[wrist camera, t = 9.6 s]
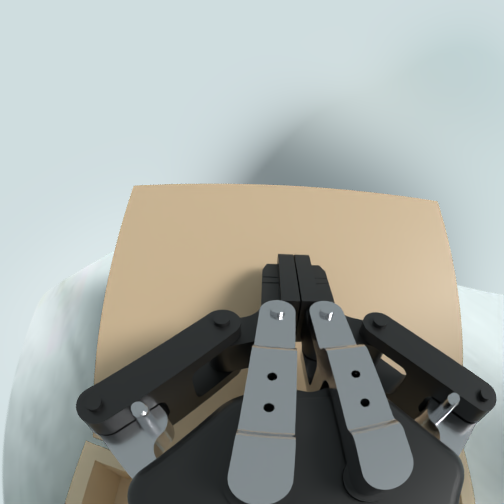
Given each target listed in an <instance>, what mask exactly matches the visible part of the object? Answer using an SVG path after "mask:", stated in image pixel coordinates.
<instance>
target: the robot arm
mask: <svg viewBox="0 0 504 504" xmlns="http://www.w3.org/2000/svg"><path fill="white" fill-rule="evenodd" d="M295 342H301V343H302V349H301V353H300V358H301V363H302V368H303V374H304V379H305V384H306V390H307V392H306V391H301V390H297V348H295ZM383 354H384V355H385V356H387V357H388V358H390V359H391V360H392V361H394V362H395V363H397V364H398V365H399V366H401V367H402V368H403V369H404V370H405V372H406V375H404V374H402V373H400V372H399V371H398V370H396V369H395V368H393V367H392V366H391V365H389V364H388V363H387V362H385V361H384V360H382V359H381V357H382V355H383ZM245 368H248V374H247V380H246V386H245V391H244V395H242V396H238V397H236V398H233V399H231V400H229V401H227V402H226V403H224V404H223V405H221V406H220V407H219V408H218V409H216V410H215V411H214V412H213V413H212V414H211V415H210V416H208V417H207V418H206V419H205V420H204V421H203V422H201V423H200V424H199V425H198V426H197V427H196V428H194V429H193V430H192V431H191V432H190V433H188V434H187V435H186V436H185V437H183V438H182V439H181V440H180V441H178V442H177V443H176V444H175V445H173V446H172V447H171V448H170V449H168V450H167V451H166V452H164V450H165V449H166V447H167V446H168V445H169V444H170V443H171V442H172V441H173V439H174V435H175V431H174V427H173V425H175V424H176V423H177V422H179V421H180V420H181V419H183V418H184V417H186V416H187V415H188V414H189V413H191V412H192V411H193V410H195V409H196V408H197V407H199V406H200V405H201V404H202V403H204V402H205V401H206V400H208V399H209V398H210V397H211V396H213V395H214V394H215V393H216V392H218V391H219V390H220V389H221V388H222V387H224V386H225V385H226V384H227V383H229V382H230V381H231V380H232V379H233V378H234V377H236V376H237V375H238V374H239V373H240V371H241V369H245ZM495 403H496V394H495V391H494V389H493V388H492V387H491V386H490V385H489V384H488V383H486V382H485V381H484V380H482V379H481V378H479V377H478V376H476V375H475V374H474V373H472V372H471V371H469V370H468V369H466V368H465V367H463V366H462V365H460V364H459V363H458V362H456V361H455V360H453V359H452V358H450V357H449V356H447V355H446V354H444V353H443V352H441V351H440V350H438V349H437V348H435V347H434V346H432V345H431V344H429V343H428V342H426V341H425V340H423V339H422V338H420V337H419V336H417V335H416V334H414V333H413V332H411V331H410V330H408V329H407V328H405V327H404V326H402V325H401V324H399V323H398V322H396V321H395V320H393V319H392V318H390V317H389V316H387V315H385V314H383V313H378V312H372V313H369V314H367V315H366V316H365V317H364V319H363V320H360V319H356V318H351V317H348V316H346V315H344V312H343V310H342V309H341V307H340V306H338V305H337V304H335V302H334V299H333V295H332V292H331V289H330V285H329V282H328V279H327V276H326V272H325V271H324V270H323V269H322V268H321V267H320V266H319V265H311V261H310V257H309V255H299V254H294V255H293V254H278V258H277V264H266V265H265V267H264V268H263V269H262V291H261V307H260V309H259V310H258V311H257V312H256V313H254V314H252V315H250V316H246V317H241V318H240V317H239V316H238V315H237V314H236V313H234V312H232V311H229V310H216V311H213V312H211V313H209V314H207V315H206V316H204V317H203V318H201V319H200V320H198V321H197V322H195V323H194V324H192V325H190V326H189V327H187V328H186V329H184V330H183V331H181V332H180V333H178V334H176V335H175V336H173V337H172V338H170V339H169V340H167V341H165V342H164V343H162V344H161V345H159V346H157V347H156V348H154V349H153V350H151V351H149V352H148V353H146V354H145V355H143V356H141V357H140V358H138V359H137V360H135V361H133V362H132V363H130V364H128V365H127V366H125V367H123V368H122V369H120V370H119V371H117V372H115V373H114V374H112V375H110V376H109V377H107V378H105V379H104V380H102V381H100V382H99V383H97V384H95V385H94V386H92V387H90V388H88V389H87V390H85V391H84V392H83V393H82V394H81V395H80V396H79V398H78V400H77V403H76V409H77V413H78V415H79V416H80V418H81V419H82V420H83V421H84V422H85V423H86V424H87V425H88V426H89V427H90V429H91V430H92V431H93V432H94V433H95V434H96V435H97V436H98V437H99V438H101V439H102V440H103V441H104V442H105V444H106V445H107V447H108V448H109V449H110V451H111V452H112V454H113V455H114V456H115V458H116V459H117V460H118V462H119V463H120V464H121V465H122V467H123V468H124V469H125V471H126V472H127V473H128V474H129V476H130V477H131V478H132V481H131V483H130V485H129V488H128V495H127V499H128V504H459V500H460V494H461V490H462V486H463V482H464V467H463V463H462V461H461V459H460V457H459V455H460V453H461V452H462V450H463V448H464V446H465V444H466V442H467V440H468V438H469V436H470V434H471V432H472V430H473V428H474V426H475V424H476V423H477V422H479V421H480V420H481V419H482V418H483V417H484V416H485V415H486V414H487V413H488V412H489V411H490V410H491V409H492V408H493V407H494V406H495ZM163 452H164V453H163Z"/></svg>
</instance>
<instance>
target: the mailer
mask: <svg viewBox="0 0 504 504" xmlns="http://www.w3.org/2000/svg"><path fill="white" fill-rule="evenodd" d="M459 457H460V459H461V461H462V463H463V467H464V482H463V486H462V490H461V494H460V500H459V504H475V498H474V492H473V487H472V482H471V477H470V472H469V468H468V464H467V460H466V456H465V452H464V449H463V450H462V452H461V453H460V455H459ZM131 481H132V478H131V477H130V476H129V474H128V473H127V472H126V471H125V469H124V468H123V467H122V465H121V464H120V463H119V462H118V460H117V459H116V458H115V456H114V455H113V454H112V452H111V451H110V450H109V449H106V448H103V447H101V446H98V445H96V444H93V443H91V442H88V441H86V442H85V445H84V447H83V450H82V453H81V455H80V458H79V461H78V464H77V467H76V470H75V473H74V476H73V479H72V482H71V485H70V488H69V491H68V494H67V498H66V501H65V504H128V499H127V495H128V488H129V485H130V483H131Z"/></svg>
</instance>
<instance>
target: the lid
mask: <svg viewBox="0 0 504 504" xmlns="http://www.w3.org/2000/svg"><path fill="white" fill-rule="evenodd" d="M278 254H293V255H294V254H299V255H309V257H310V261H311V265H319V266H320V267H321V268H322V269H323V270H324V271H325V272H326V276H327V279H328V282H329V285H330V289H331V292H332V295H333V299H334V302H335V304H337V305H338V306H340V307H341V309H342V310H343V312H344V315H346V316H348V317H351V318H356V319H360V320H363V319H364V317H365V316H366V315H367V314H369V313H372V312H378V313H383V314H385V315H387V316H389V317H390V318H392V319H393V320H395V321H396V322H398V323H399V324H401V325H402V326H404V327H405V328H407V329H408V330H410V331H411V332H413V333H414V334H416V335H417V336H419V337H420V338H422V339H423V340H425V341H426V342H428V343H429V344H431V345H432V346H434V347H435V348H437V349H438V350H440V351H441V352H443V353H444V354H446V355H447V356H449V357H450V358H452V359H453V360H455V361H456V362H458V363H459V364H460V365H462V366H463V345H462V327H461V315H460V305H459V297H458V289H457V283H456V277H455V271H454V265H453V260H452V255H451V251H450V247H449V242H448V237H447V233H446V229H445V226H444V222H443V218H442V215H441V211H440V208H439V205H438V202H437V201H431V200H425V199H419V198H412V197H404V196H397V195H389V194H380V193H372V192H362V191H353V190H342V189H329V188H317V187H316V188H315V187H301V186H282V185H256V184H165V185H140V186H134V187H133V190H132V193H131V196H130V199H129V202H128V205H127V209H126V212H125V215H124V218H123V222H122V225H121V229H120V232H119V236H118V240H117V244H116V248H115V251H114V256H113V260H112V264H111V268H110V273H109V278H108V282H107V287H106V292H105V298H104V303H103V309H102V315H101V322H100V329H99V336H98V344H97V353H96V363H95V375H94V385H95V384H97V383H99V382H100V381H102V380H104V379H105V378H107V377H109V376H110V375H112V374H114V373H115V372H117V371H119V370H120V369H122V368H123V367H125V366H127V365H128V364H130V363H132V362H133V361H135V360H137V359H138V358H140V357H141V356H143V355H145V354H146V353H148V352H149V351H151V350H153V349H154V348H156V347H157V346H159V345H161V344H162V343H164V342H165V341H167V340H169V339H170V338H172V337H173V336H175V335H176V334H178V333H180V332H181V331H183V330H184V329H186V328H187V327H189V326H190V325H192V324H194V323H195V322H197V321H198V320H200V319H201V318H203V317H204V316H206V315H207V314H209V313H211V312H213V311H216V310H229V311H232V312H234V313H236V314H237V315H238V316H239V317H240V318H241V317H246V316H250V315H252V314H254V313H256V312H257V311H258V310H259V309H260V307H261V291H262V269H263V268H264V267H265V265H266V264H277V258H278ZM295 348H297V390H301V391H306V392H307V390H306V384H305V379H304V374H303V368H302V363H301V358H300V353H301V349H302V343H301V342H295ZM381 359H382V360H384V361H385V362H387V363H388V364H389V365H391V366H392V367H393V368H395V369H396V370H398V371H399V372H400V373H402V374H404V375H406V372H405V370H404V369H403V368H402V367H401V366H399V365H398V364H397V363H395V362H394V361H392V360H391V359H390V358H388V357H387V356H385V355H384V354H383V355H382V357H381ZM247 374H248V368H245V369H241V371H240V373H239V374H238V375H237V376H236V377H234V378H233V379H232V380H231V381H230V382H229V383H227V384H226V385H225V386H224V387H222V388H221V389H220V390H219V391H218V392H216V393H215V394H214V395H213V396H211V397H210V398H209V399H208V400H206V401H205V402H204V403H202V404H201V405H200V406H199V407H197V408H196V409H195V410H193V411H192V412H191V413H189V414H188V415H187V416H186V417H184V418H183V419H181V420H180V421H179V422H177V423H176V424H175V425H173V427H174V431H175V435H174V439H173V441H172V442H171V443H170V444H169V445H168V446H167V447H166V449H165V450H164V452H166V451H167V450H168V449H170V448H171V447H172V446H173V445H175V444H176V443H177V442H178V441H180V440H181V439H182V438H183V437H185V436H186V435H187V434H188V433H190V432H191V431H192V430H193V429H194V428H196V427H197V426H198V425H199V424H200V423H201V422H203V421H204V420H205V419H206V418H207V417H208V416H210V415H211V414H212V413H213V412H214V411H215V410H216V409H218V408H219V407H220V406H221V405H223V404H224V403H226V402H227V401H229V400H231V399H233V398H236V397H238V396H242V395H244V391H245V386H246V380H247ZM93 437H94V438H97V439H99V440H102V439H101V438H99V437H98V436H97V435H96V434H95V433H94V432H93ZM102 441H103V440H102ZM164 452H163V453H164Z"/></svg>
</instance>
